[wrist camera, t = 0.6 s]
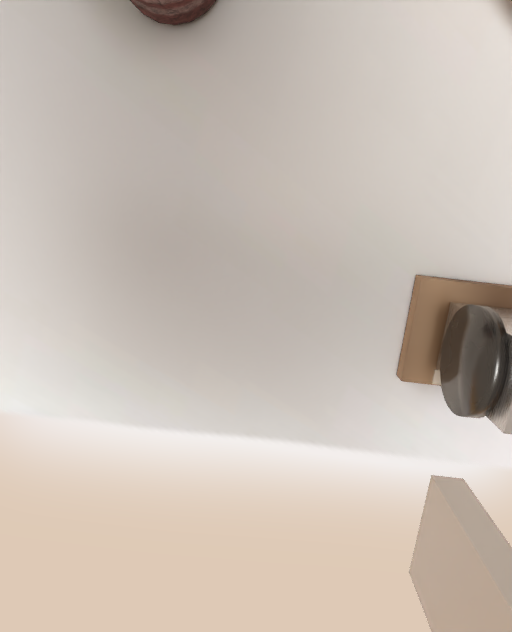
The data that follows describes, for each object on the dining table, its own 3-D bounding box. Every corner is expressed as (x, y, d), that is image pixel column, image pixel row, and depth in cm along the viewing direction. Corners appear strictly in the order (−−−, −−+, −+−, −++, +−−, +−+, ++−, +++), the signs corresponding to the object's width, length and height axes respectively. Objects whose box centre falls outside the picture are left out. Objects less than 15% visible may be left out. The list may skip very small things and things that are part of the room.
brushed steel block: (419, 388, 31) (479, 461, 22) (440, 288, 29) (513, 324, 21) (506, 398, 31) (599, 475, 22) (531, 298, 29) (643, 339, 21)
